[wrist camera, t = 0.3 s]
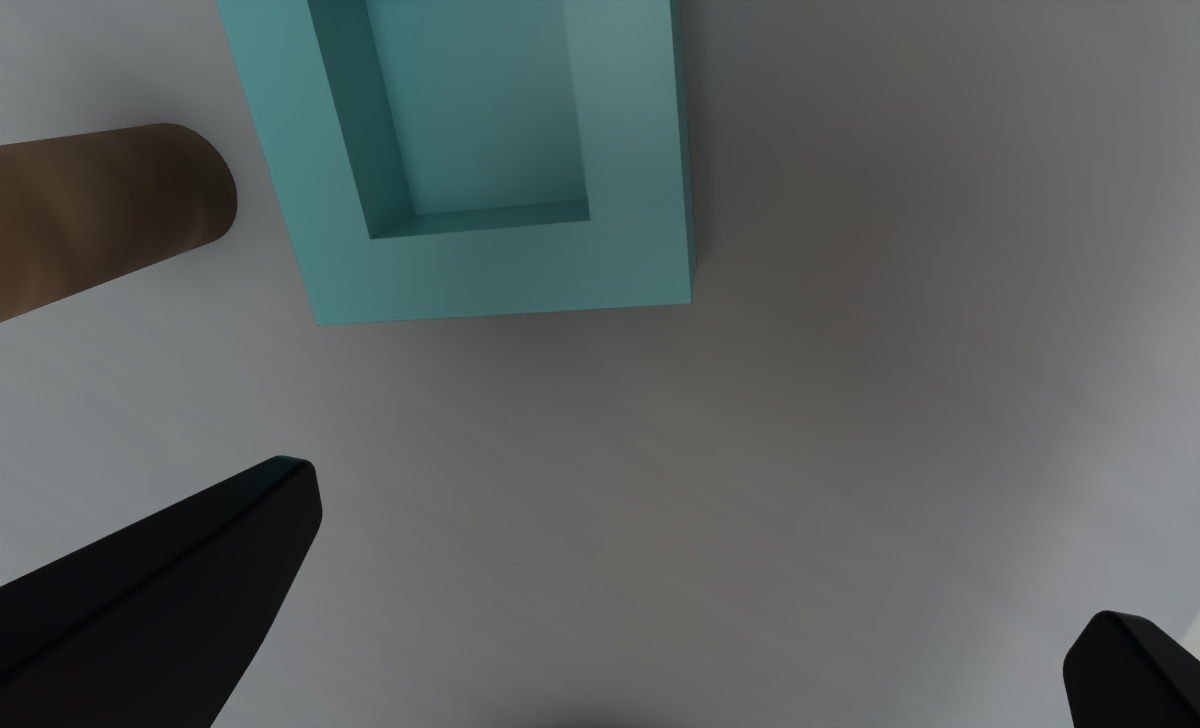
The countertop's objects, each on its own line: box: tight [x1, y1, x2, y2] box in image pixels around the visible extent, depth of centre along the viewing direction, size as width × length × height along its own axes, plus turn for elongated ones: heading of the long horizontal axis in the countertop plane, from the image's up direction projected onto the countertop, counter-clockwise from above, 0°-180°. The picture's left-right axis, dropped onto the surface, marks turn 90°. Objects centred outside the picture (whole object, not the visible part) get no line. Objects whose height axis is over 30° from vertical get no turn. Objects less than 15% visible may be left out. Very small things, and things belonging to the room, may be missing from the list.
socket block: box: [216, 0, 697, 326], centre depth 18 cm, size 11×11×4 cm
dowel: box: [0, 123, 237, 322], centre depth 17 cm, size 4×4×12 cm
